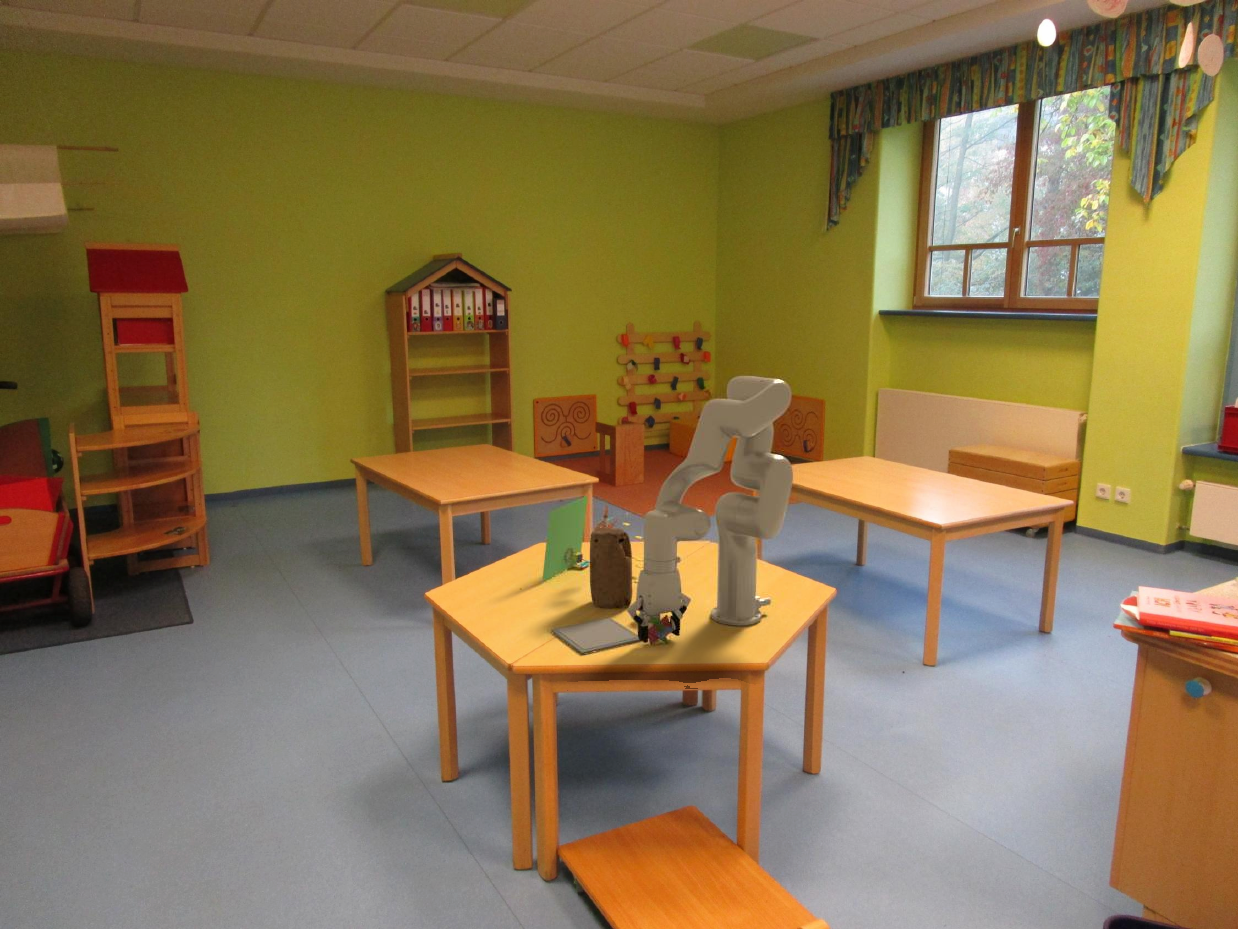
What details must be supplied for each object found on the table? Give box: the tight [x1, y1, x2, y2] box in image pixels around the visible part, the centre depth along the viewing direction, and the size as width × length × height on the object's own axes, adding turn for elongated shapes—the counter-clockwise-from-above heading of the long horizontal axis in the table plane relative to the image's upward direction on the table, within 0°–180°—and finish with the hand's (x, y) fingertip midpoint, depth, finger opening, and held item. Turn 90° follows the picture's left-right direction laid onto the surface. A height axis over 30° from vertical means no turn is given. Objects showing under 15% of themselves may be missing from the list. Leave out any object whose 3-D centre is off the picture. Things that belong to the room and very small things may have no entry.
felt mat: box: [550, 616, 642, 655], centre depth 208 cm, size 16×16×1 cm
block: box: [589, 527, 633, 609], centre depth 227 cm, size 11×8×20 cm
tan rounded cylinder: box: [642, 614, 661, 624], centre depth 218 cm, size 5×5×5 cm
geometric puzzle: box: [646, 614, 676, 646], centre depth 203 cm, size 7×7×8 cm
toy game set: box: [541, 495, 644, 584], centre depth 247 cm, size 22×25×24 cm
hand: (659, 637), depth 203 cm, fingers closed on geometric puzzle, 8 cm apart
